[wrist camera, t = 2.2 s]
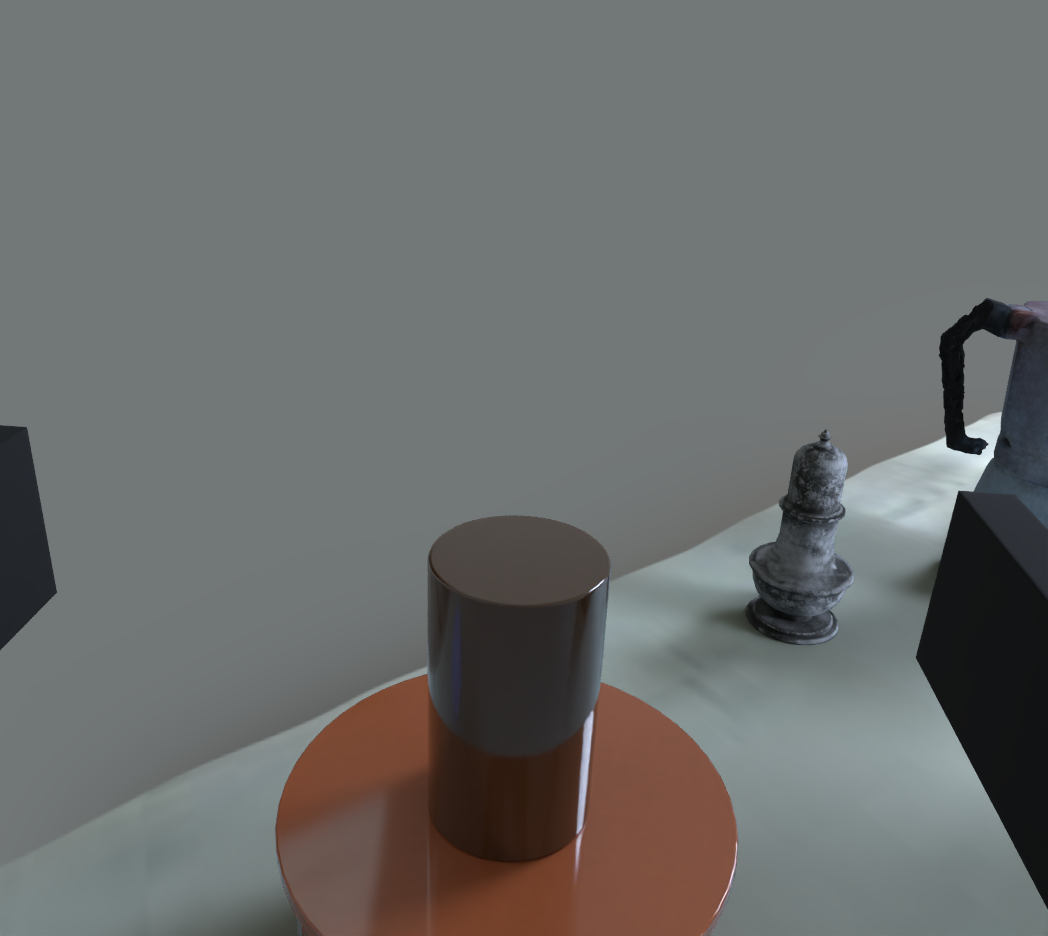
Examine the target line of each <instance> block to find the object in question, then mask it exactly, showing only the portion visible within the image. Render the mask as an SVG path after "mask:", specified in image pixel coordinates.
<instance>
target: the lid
mask: <svg viewBox="0 0 1048 936" xmlns="http://www.w3.org/2000/svg"><path fill="white" fill-rule="evenodd" d="M610 573H611V560H610V557H609V556H608V553H607V551H606V549H605V548H604V546H603V545H602V544H601V543H600V542H599V541H598V540H596V539H595V538H594V537H593V536H591V535H589V534H588V533H586V532H585V531H583V530H580V529H578V528H576V527H574V526H571V525H568V524H566V523H562V522H559V521H555V520H551V519H546V518H539V517H531V516H496V517H488V518H482V519H477V520H473V521H470V522H466V523H463V524H461V525H459V526H456V527H454V528H452V529H450V530H448V531H447V532H445V533H444V534H442V535H441V536H440V537H439V538H438V539H437V540H436V541H435V542H434V544H433V545H432V547H431V550H430V552H429V555H428V674H426V675H422V676H419V677H416V678H412V679H409V680H406V681H403V682H400V683H398V684H395V685H393V686H390V687H388V688H385V689H383V690H381V691H379V692H377V693H375V694H373V695H371V696H369V697H367V698H365V699H363V700H362V701H360V702H358V703H357V704H355V705H354V706H352V707H351V708H349V709H348V710H346V711H345V712H343V713H342V714H341V715H339V716H338V717H337V718H336V719H335V720H333V721H332V722H331V723H330V724H329V725H327V726H326V727H325V728H324V729H323V730H322V731H321V732H320V733H319V734H318V735H317V736H316V737H315V739H314V740H313V741H312V742H311V743H310V744H309V745H308V747H307V748H306V749H305V751H304V752H303V754H302V755H301V756H300V758H299V759H298V761H297V762H296V764H295V766H294V768H293V770H292V772H291V773H290V775H289V777H288V779H287V781H286V783H285V786H284V789H283V793H282V796H281V799H280V802H279V805H278V812H277V819H276V826H275V833H276V854H277V864H278V868H279V873H280V877H281V882H282V886H283V889H284V891H285V894H286V896H287V898H288V901H289V903H290V905H291V908H292V910H293V912H294V914H295V915H296V917H297V918H298V920H299V921H300V923H301V924H302V926H303V928H304V929H305V931H306V932H307V934H308V935H309V936H709V935H710V933H711V932H712V930H713V929H714V928H715V926H716V925H717V923H718V921H719V919H720V917H721V915H722V912H723V910H724V908H725V906H726V904H727V902H728V899H729V895H730V892H731V888H732V884H733V881H734V877H735V871H736V865H737V853H738V834H737V824H736V818H735V814H734V810H733V807H732V803H731V799H730V796H729V794H728V792H727V790H726V788H725V785H724V783H723V781H722V779H721V776H720V775H719V773H718V772H717V770H716V769H715V767H714V765H713V764H712V762H711V761H710V759H709V758H708V756H707V755H706V754H705V753H704V752H703V750H702V749H701V748H700V747H699V746H698V745H697V743H696V742H695V741H694V740H693V739H692V738H691V737H690V736H689V735H688V734H687V733H686V732H685V731H683V730H682V729H681V728H680V727H679V726H678V725H677V724H676V723H674V722H673V721H672V720H670V719H669V718H668V717H666V716H665V715H664V714H662V713H661V712H660V711H658V710H657V709H655V708H653V707H652V706H650V705H648V704H647V703H645V702H643V701H642V700H640V699H638V698H636V697H634V696H632V695H630V694H628V693H626V692H624V691H622V690H620V689H618V688H615V687H612V686H610V685H607V684H604V683H602V682H601V673H602V662H603V651H604V640H605V629H606V618H607V607H608V597H609V586H610Z"/></svg>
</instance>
